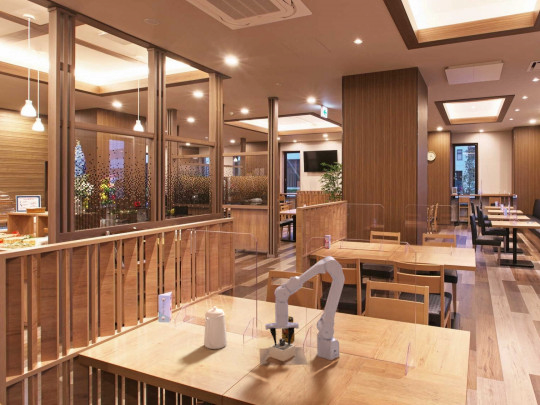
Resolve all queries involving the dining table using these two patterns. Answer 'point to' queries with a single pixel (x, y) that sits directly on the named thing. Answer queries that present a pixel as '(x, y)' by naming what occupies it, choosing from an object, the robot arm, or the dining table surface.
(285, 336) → the condiment
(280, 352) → the press housing
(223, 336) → the coffeepot
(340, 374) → the dining table surface
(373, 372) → the dining table surface
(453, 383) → the dining table surface
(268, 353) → the board
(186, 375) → the dining table surface
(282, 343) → the plunger
